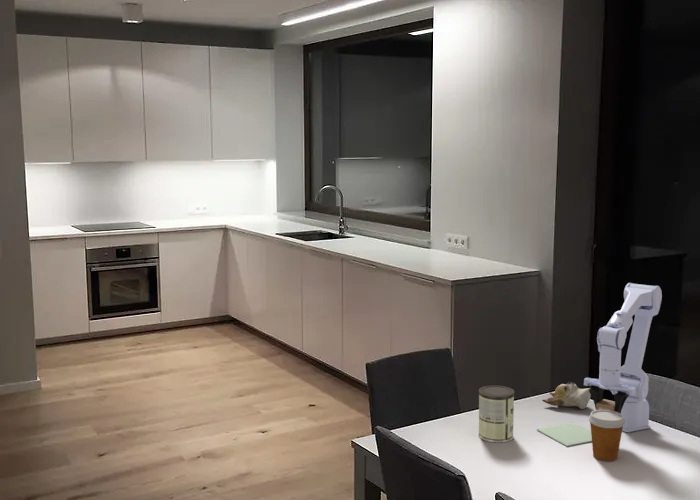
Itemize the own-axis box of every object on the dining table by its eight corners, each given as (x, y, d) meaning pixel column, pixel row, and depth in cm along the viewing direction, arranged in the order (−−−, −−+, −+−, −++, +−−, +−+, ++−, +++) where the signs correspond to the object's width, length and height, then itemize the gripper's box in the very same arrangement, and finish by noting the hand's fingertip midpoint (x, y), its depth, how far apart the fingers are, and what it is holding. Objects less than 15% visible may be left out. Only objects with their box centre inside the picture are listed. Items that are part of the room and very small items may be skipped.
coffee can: (476, 429, 231) (477, 384, 229) (511, 430, 230) (512, 385, 228) (479, 442, 221) (480, 395, 219) (515, 443, 220) (516, 396, 218)
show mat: (573, 423, 236) (573, 422, 236) (605, 439, 223) (605, 437, 223) (536, 430, 230) (536, 429, 230) (566, 446, 218) (566, 445, 217)
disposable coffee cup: (616, 466, 204) (618, 423, 202) (582, 458, 209) (583, 416, 208) (628, 455, 211) (630, 413, 210) (594, 447, 217) (595, 406, 215)
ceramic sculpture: (587, 387, 242) (540, 383, 250) (588, 414, 243) (541, 409, 251) (594, 379, 252) (549, 375, 259) (595, 404, 252) (550, 400, 260)
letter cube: (603, 415, 223) (603, 399, 223) (619, 419, 220) (620, 402, 219) (595, 420, 219) (596, 403, 219) (612, 424, 216) (612, 407, 215)
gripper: (579, 366, 220) (578, 411, 222) (629, 376, 210) (626, 423, 212) (590, 361, 225) (589, 405, 227) (639, 370, 215) (637, 417, 217)
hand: (608, 414), depth 220 cm, fingers closed on letter cube, 5 cm apart
